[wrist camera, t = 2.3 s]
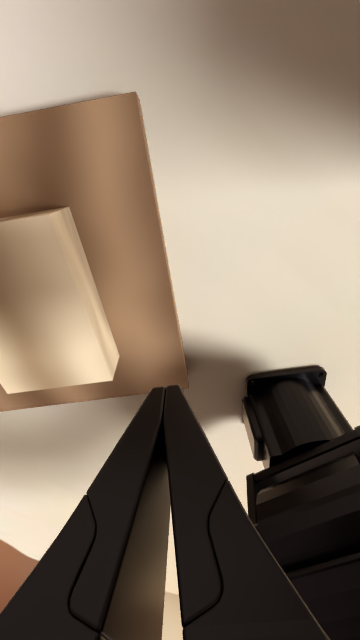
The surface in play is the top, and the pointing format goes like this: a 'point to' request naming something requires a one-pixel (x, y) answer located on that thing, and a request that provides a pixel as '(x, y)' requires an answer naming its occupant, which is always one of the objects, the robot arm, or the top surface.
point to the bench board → (100, 233)
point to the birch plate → (50, 307)
